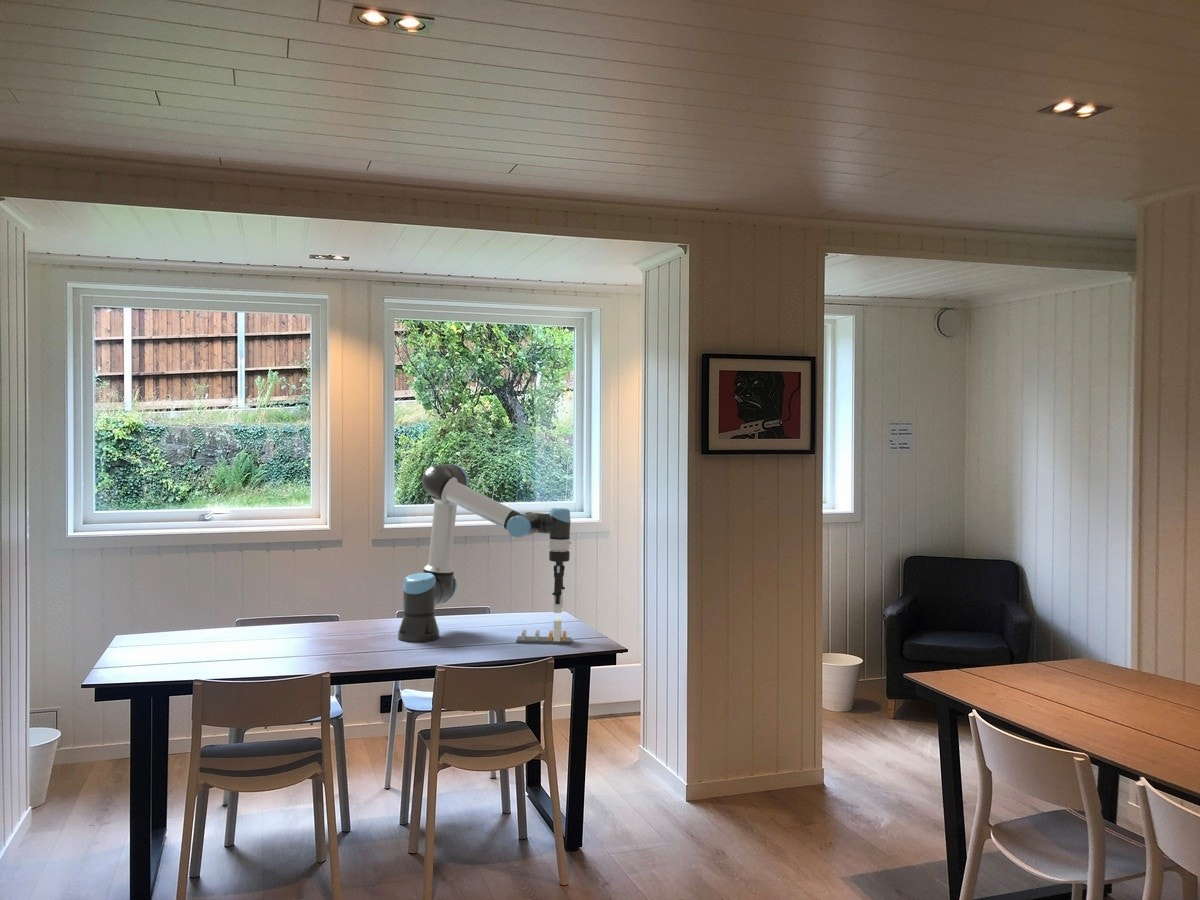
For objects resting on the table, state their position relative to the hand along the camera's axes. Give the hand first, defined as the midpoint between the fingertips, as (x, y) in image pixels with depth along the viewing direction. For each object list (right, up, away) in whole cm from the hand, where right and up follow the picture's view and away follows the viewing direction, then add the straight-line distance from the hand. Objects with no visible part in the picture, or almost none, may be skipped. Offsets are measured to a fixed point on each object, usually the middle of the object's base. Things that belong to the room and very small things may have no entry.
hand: (558, 610), depth 348 cm
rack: (-5, -12, 0) cm, 13 cm away
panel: (0, -11, 0) cm, 11 cm away
